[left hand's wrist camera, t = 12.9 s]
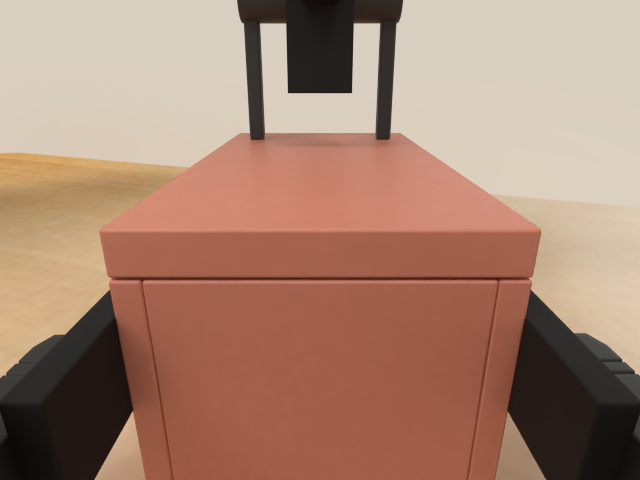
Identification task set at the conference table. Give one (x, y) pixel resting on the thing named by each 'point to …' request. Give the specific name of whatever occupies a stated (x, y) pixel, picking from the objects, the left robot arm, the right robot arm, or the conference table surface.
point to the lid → (320, 199)
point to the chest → (320, 375)
